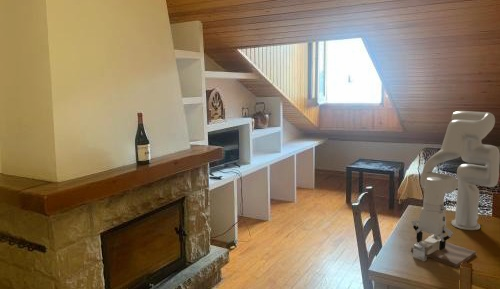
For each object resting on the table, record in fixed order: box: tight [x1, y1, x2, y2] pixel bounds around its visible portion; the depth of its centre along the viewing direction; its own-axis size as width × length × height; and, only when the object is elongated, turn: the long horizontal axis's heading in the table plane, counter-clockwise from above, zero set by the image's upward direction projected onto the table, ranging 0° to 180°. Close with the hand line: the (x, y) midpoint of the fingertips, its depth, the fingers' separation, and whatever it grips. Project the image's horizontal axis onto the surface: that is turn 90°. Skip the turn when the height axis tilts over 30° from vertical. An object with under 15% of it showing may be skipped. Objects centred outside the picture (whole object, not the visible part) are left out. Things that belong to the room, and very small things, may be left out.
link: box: [422, 234, 441, 255], centre depth 163 cm, size 13×5×4 cm, turn 127°
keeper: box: [412, 240, 433, 262], centre depth 159 cm, size 6×5×6 cm
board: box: [410, 241, 477, 268], centre depth 163 cm, size 17×19×2 cm
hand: (430, 245), depth 162 cm, fingers open, 9 cm apart
